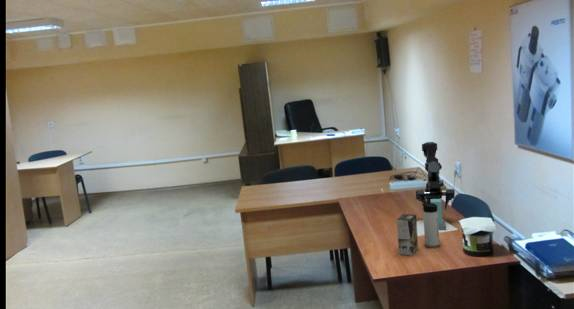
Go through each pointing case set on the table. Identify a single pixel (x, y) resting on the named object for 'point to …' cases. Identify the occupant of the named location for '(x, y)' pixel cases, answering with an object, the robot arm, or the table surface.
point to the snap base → (442, 226)
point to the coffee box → (407, 234)
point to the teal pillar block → (439, 207)
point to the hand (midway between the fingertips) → (436, 209)
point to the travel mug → (431, 225)
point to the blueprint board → (448, 228)
